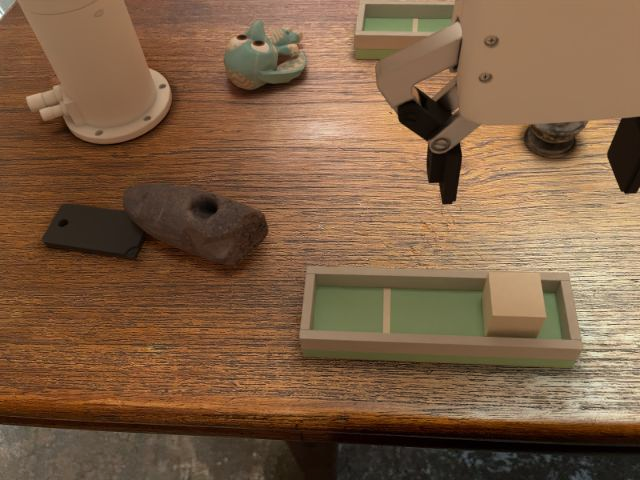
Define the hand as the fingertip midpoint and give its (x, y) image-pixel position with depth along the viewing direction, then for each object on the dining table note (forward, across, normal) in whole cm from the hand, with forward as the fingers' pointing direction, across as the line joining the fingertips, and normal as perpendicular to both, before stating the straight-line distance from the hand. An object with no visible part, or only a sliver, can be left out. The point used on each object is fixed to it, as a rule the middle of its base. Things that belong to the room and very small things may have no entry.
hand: (531, 180), depth 34 cm
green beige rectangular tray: (+21, -2, -41) cm, 46 cm away
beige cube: (+19, -2, -2) cm, 20 cm away
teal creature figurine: (+18, +16, -43) cm, 50 cm away
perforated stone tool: (+21, +26, -13) cm, 35 cm away
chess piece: (+21, -11, -24) cm, 33 cm away
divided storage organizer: (+21, +4, -2) cm, 21 cm away
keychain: (+21, +36, -14) cm, 44 cm away
